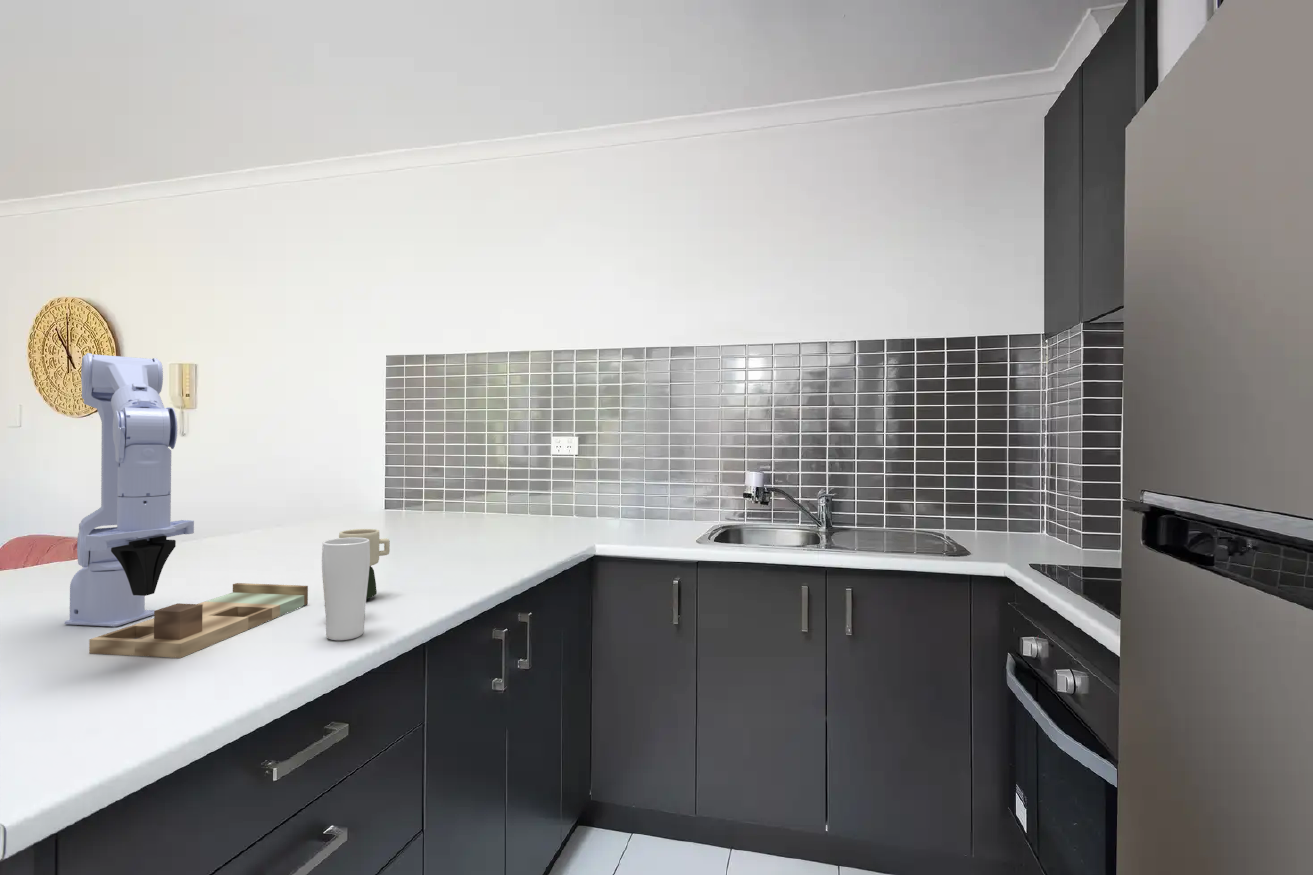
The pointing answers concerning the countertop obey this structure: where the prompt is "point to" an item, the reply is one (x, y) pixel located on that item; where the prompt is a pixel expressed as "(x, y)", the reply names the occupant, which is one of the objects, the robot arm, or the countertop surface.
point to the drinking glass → (345, 586)
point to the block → (177, 621)
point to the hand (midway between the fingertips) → (143, 594)
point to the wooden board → (207, 622)
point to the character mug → (374, 552)
